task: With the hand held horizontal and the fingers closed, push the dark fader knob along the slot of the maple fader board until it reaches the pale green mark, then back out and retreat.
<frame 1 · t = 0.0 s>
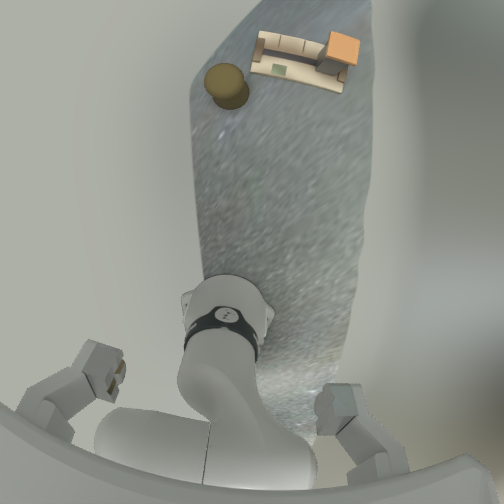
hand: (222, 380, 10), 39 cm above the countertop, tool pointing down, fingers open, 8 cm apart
fader board: (300, 61, 37), on the countertop
fader knob: (334, 57, 31), point 7 cm above the countertop, slide at -4.0 cm
cork: (230, 92, 39), on the countertop
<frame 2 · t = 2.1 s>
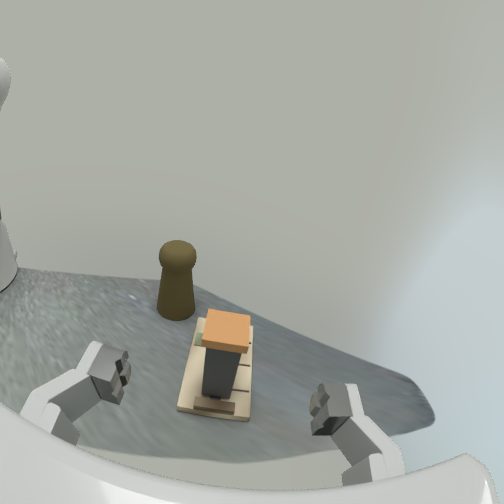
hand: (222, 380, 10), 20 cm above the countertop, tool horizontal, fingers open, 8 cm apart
fader board: (219, 367, 33), on the countertop
fader knob: (221, 360, 26), point 7 cm above the countertop, slide at -4.0 cm
cork: (175, 308, 41), on the countertop
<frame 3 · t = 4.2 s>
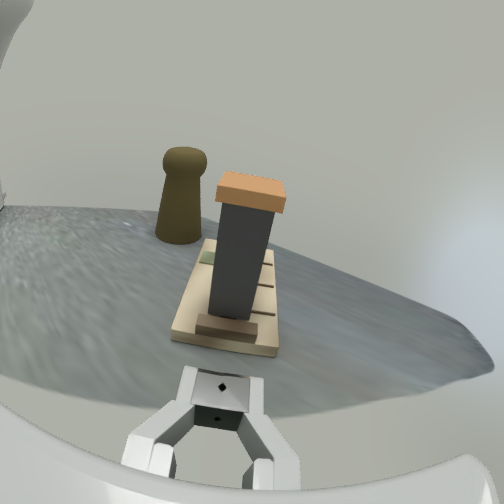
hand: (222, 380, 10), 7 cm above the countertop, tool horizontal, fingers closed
fader board: (231, 291, 26), on the countertop
fader knob: (240, 250, 20), point 7 cm above the countertop, slide at -4.0 cm
cork: (178, 234, 35), on the countertop
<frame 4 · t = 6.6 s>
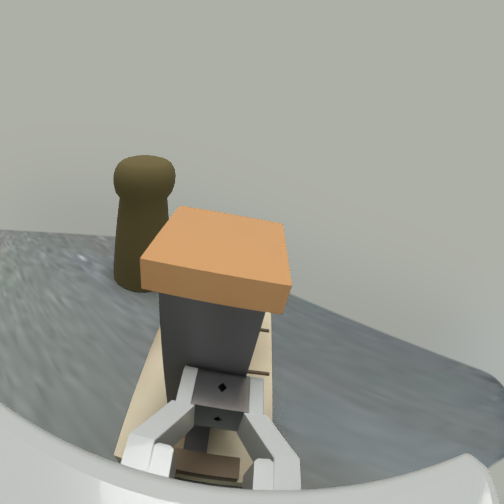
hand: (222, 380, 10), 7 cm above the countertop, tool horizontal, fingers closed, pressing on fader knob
fader board: (208, 376, 17), on the countertop
fader knob: (209, 343, 11), point 7 cm above the countertop, slide at -2.8 cm, touching gripper
cork: (143, 274, 25), on the countertop
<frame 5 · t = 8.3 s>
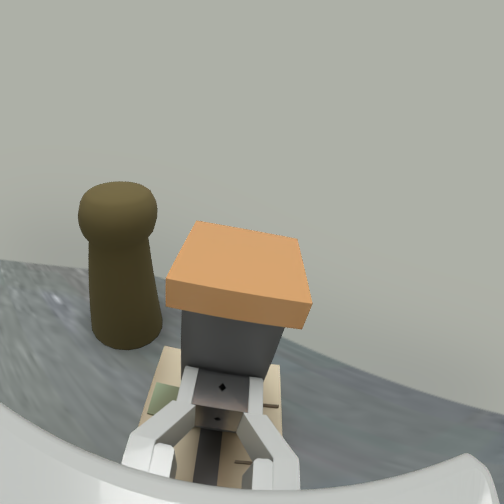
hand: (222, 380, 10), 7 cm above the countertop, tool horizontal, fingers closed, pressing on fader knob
fader board: (206, 463, 12), on the countertop
fader knob: (224, 353, 11), point 7 cm above the countertop, slide at 3.3 cm, touching gripper
cork: (126, 323, 20), on the countertop
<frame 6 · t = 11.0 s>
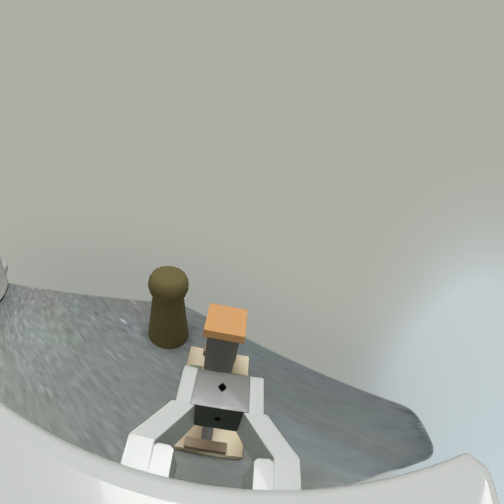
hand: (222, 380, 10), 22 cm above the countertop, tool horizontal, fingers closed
fader board: (212, 401, 30), on the countertop
fader knob: (221, 350, 30), point 7 cm above the countertop, slide at 3.3 cm
cork: (168, 334, 38), on the countertop
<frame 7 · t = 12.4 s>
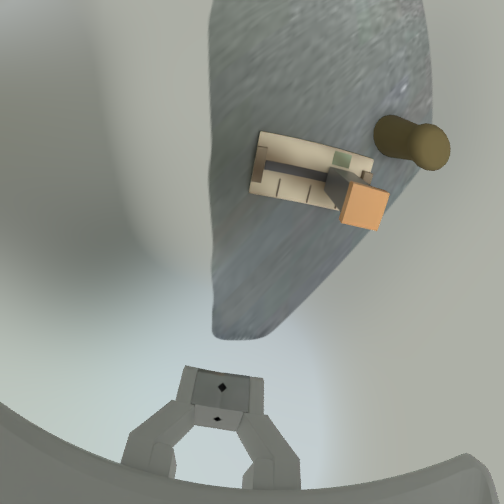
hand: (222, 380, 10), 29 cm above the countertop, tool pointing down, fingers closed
fader board: (311, 172, 34), on the countertop
fader knob: (350, 192, 29), point 7 cm above the countertop, slide at 3.3 cm
cork: (392, 136, 31), on the countertop
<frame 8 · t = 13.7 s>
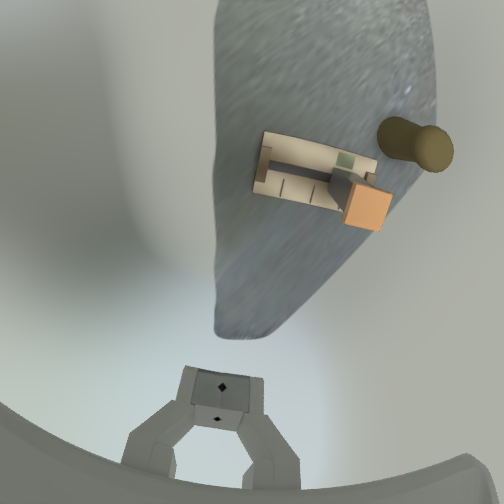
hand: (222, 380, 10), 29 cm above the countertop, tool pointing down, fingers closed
fader board: (315, 173, 34), on the countertop
fader knob: (353, 193, 29), point 7 cm above the countertop, slide at 3.3 cm
cork: (396, 137, 31), on the countertop
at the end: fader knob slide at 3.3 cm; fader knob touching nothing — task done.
